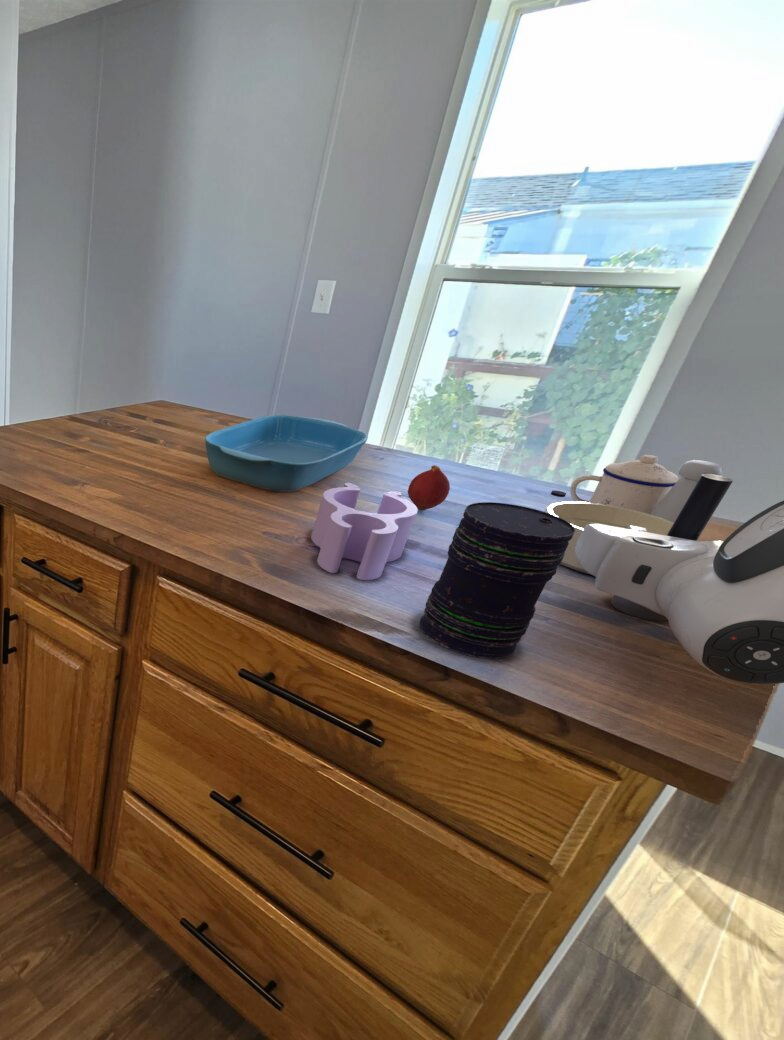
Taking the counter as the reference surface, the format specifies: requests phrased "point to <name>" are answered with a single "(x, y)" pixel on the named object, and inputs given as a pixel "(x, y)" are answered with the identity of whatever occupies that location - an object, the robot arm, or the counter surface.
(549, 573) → the oil drum
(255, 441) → the casserole dish
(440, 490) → the onion
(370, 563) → the clip
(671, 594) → the robot arm
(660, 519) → the bowl
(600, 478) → the teacup with lid
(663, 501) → the salt shaker
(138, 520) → the counter surface
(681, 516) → the black tall cylinder post
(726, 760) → the counter surface
